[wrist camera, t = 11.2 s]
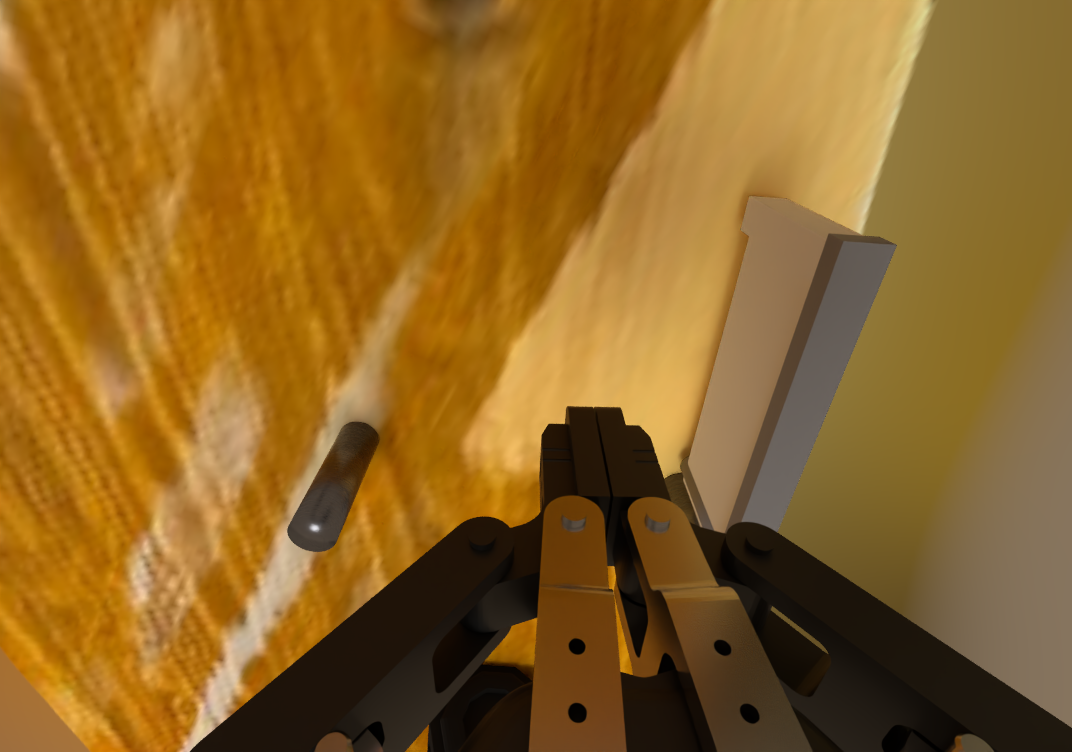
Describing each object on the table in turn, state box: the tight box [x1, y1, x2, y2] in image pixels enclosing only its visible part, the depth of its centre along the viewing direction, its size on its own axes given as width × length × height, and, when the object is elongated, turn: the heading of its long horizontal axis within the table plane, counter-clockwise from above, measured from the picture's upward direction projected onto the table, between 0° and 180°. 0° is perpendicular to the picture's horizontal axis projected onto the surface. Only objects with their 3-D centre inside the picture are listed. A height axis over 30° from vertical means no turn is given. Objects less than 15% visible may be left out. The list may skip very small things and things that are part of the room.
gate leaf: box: [680, 196, 897, 534], centre depth 25 cm, size 17×2×8 cm, turn 176°
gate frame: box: [287, 422, 700, 552], centre depth 29 cm, size 3×24×11 cm, turn 78°
